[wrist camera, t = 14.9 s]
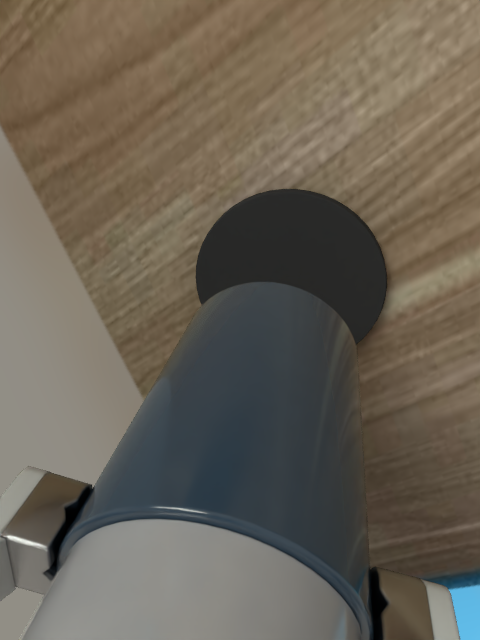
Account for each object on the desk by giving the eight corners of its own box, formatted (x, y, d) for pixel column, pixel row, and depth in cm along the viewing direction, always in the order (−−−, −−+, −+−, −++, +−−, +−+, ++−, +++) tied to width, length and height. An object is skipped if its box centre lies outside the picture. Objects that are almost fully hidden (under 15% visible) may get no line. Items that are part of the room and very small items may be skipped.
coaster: (169, 298, 23) (165, 303, 23) (260, 146, 19) (258, 148, 18) (309, 387, 24) (308, 394, 24) (429, 264, 20) (431, 269, 19)
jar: (207, 300, 19) (140, 97, 8) (352, 336, 19) (521, 176, 7) (120, 602, 17) (-198, 1017, 5) (288, 654, 16) (390, 1261, 4)
